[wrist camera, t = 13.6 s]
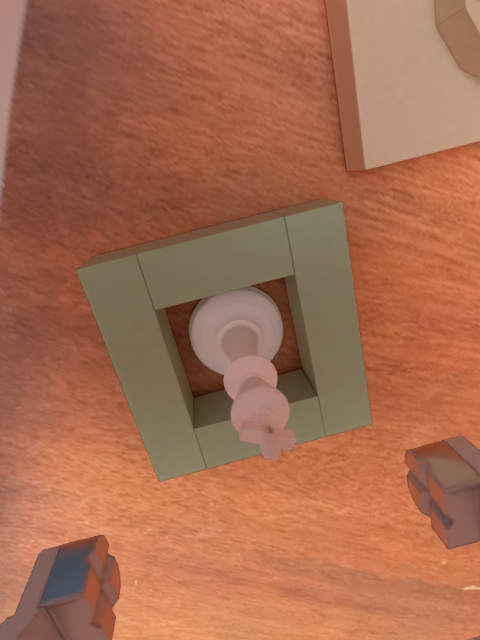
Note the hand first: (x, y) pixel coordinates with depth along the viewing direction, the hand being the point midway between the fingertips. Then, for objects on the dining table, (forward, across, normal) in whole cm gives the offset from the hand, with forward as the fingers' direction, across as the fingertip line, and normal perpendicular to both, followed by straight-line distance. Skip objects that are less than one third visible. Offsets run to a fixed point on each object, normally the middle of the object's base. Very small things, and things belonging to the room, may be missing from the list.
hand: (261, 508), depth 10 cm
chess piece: (+11, -1, -1) cm, 11 cm away
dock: (+11, -1, 0) cm, 11 cm away
